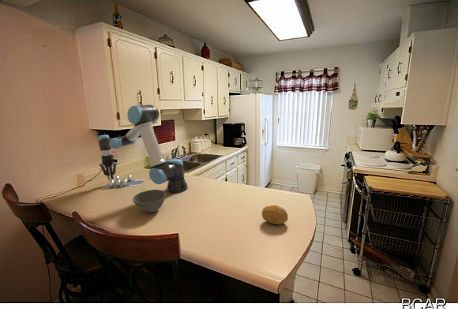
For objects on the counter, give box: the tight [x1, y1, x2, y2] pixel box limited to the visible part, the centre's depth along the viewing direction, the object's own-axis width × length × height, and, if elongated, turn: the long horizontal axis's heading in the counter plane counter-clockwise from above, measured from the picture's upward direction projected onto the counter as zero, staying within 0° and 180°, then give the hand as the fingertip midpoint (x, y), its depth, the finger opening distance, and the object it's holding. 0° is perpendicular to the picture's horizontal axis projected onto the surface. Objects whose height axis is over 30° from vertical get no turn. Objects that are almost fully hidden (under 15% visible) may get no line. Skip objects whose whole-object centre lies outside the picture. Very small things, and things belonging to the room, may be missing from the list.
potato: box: [261, 204, 289, 226], centre depth 112 cm, size 10×13×9 cm
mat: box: [105, 179, 146, 189], centre depth 177 cm, size 27×15×1 cm, turn 96°
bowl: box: [132, 189, 167, 214], centre depth 130 cm, size 19×19×10 cm
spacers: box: [108, 174, 133, 189], centre depth 176 cm, size 13×14×5 cm
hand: (111, 183), depth 175 cm, fingers closed
